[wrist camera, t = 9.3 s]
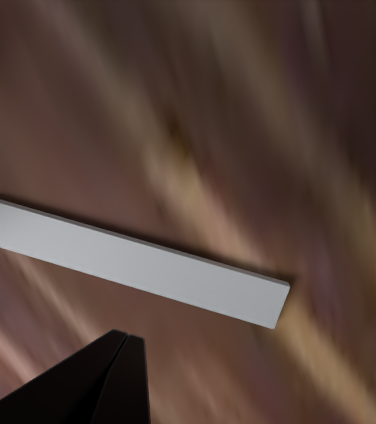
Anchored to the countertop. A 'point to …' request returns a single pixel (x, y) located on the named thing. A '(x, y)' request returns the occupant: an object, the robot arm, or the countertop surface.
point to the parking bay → (142, 265)
